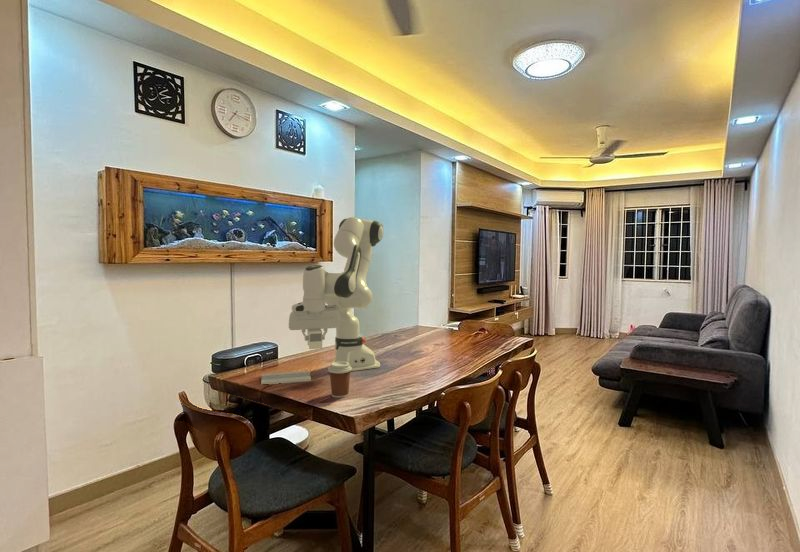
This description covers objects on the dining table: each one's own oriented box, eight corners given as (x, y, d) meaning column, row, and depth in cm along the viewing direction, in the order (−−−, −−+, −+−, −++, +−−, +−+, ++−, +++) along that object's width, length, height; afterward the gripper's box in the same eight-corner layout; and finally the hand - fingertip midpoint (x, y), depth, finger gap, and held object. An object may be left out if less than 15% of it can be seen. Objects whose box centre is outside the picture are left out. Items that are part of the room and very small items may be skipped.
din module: (319, 343, 174) (319, 327, 174) (322, 348, 165) (322, 331, 165) (307, 344, 173) (307, 328, 172) (309, 349, 164) (309, 332, 163)
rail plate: (308, 373, 188) (308, 367, 188) (311, 381, 177) (311, 375, 177) (261, 377, 183) (261, 371, 182) (261, 385, 171) (261, 379, 171)
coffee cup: (335, 389, 165) (335, 359, 165) (356, 392, 162) (356, 362, 161) (323, 397, 157) (323, 365, 156) (344, 400, 154) (344, 367, 153)
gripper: (338, 304, 174) (339, 337, 175) (288, 305, 168) (288, 339, 169) (341, 305, 168) (341, 339, 169) (288, 307, 162) (289, 343, 163)
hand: (314, 339), depth 169 cm, fingers closed on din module, 5 cm apart
